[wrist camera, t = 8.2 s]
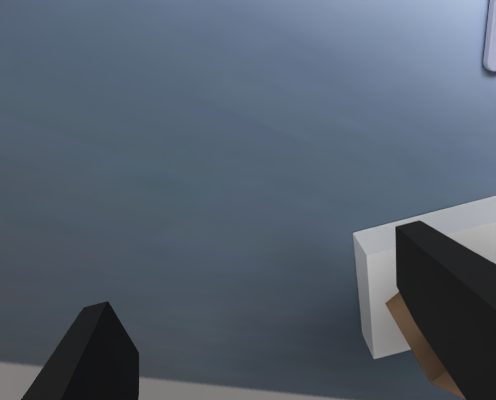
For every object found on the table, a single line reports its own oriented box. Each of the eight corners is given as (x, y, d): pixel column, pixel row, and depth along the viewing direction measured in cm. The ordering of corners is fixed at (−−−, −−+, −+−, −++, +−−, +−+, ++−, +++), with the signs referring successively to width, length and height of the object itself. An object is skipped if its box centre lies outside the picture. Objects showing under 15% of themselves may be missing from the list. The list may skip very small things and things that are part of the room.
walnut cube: (453, 244, 21) (521, 317, 17) (502, 280, 23) (572, 353, 19) (385, 303, 23) (430, 383, 19) (435, 332, 25) (487, 409, 21)
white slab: (508, 192, 22) (534, 211, 21) (490, 300, 27) (510, 324, 25) (352, 232, 22) (366, 255, 21) (362, 334, 27) (373, 359, 25)
